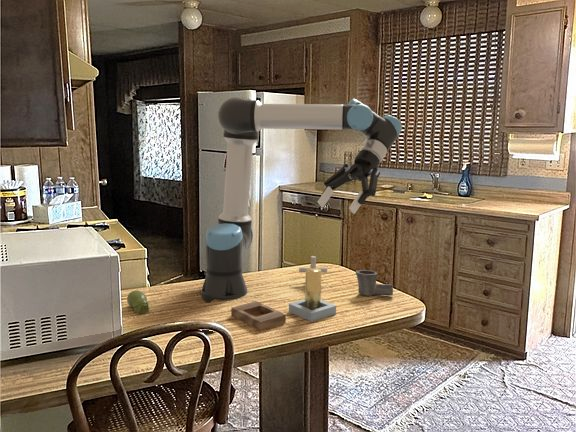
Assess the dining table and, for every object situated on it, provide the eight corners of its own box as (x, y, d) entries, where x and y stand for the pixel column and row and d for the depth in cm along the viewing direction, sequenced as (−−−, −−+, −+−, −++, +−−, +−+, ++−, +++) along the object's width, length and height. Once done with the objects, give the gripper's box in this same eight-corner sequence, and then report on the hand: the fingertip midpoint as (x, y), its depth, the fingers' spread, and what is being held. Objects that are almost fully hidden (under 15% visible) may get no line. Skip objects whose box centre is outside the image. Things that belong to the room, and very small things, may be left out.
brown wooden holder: (231, 320, 158) (231, 307, 158) (255, 313, 164) (255, 301, 163) (260, 335, 148) (260, 322, 147) (285, 327, 154) (285, 314, 153)
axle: (302, 313, 160) (303, 271, 158) (308, 308, 164) (309, 267, 162) (316, 316, 159) (318, 273, 156) (322, 311, 163) (323, 269, 160)
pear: (142, 286, 171) (153, 300, 163) (141, 301, 172) (153, 316, 165) (124, 289, 167) (135, 303, 160) (124, 304, 169) (135, 319, 161)
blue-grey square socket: (288, 316, 162) (288, 303, 162) (313, 308, 169) (313, 296, 168) (311, 326, 155) (311, 313, 154) (335, 318, 161) (336, 305, 160)
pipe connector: (327, 288, 188) (328, 260, 187) (298, 288, 189) (299, 260, 187) (325, 279, 198) (326, 253, 196) (298, 279, 198) (299, 252, 197)
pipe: (392, 299, 179) (393, 276, 177) (353, 296, 181) (354, 273, 179) (392, 293, 184) (394, 271, 183) (355, 290, 187) (356, 268, 185)
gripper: (336, 146, 179) (302, 194, 173) (396, 151, 161) (360, 205, 154) (347, 161, 184) (313, 209, 177) (406, 168, 165) (371, 221, 158)
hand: (335, 207), depth 166 cm, fingers open, 13 cm apart
